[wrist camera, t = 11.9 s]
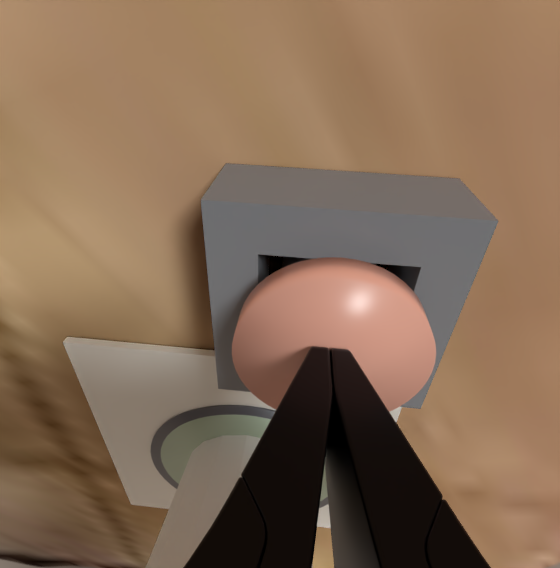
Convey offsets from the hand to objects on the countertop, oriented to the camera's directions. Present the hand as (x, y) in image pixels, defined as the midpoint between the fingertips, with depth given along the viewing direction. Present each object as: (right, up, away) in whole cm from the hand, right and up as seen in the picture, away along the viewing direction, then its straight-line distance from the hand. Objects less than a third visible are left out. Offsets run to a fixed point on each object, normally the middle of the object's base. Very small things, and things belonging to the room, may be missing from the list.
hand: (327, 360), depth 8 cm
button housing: (0, +2, +3) cm, 4 cm away
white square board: (-3, -6, +9) cm, 12 cm away
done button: (+1, +3, +4) cm, 5 cm away
